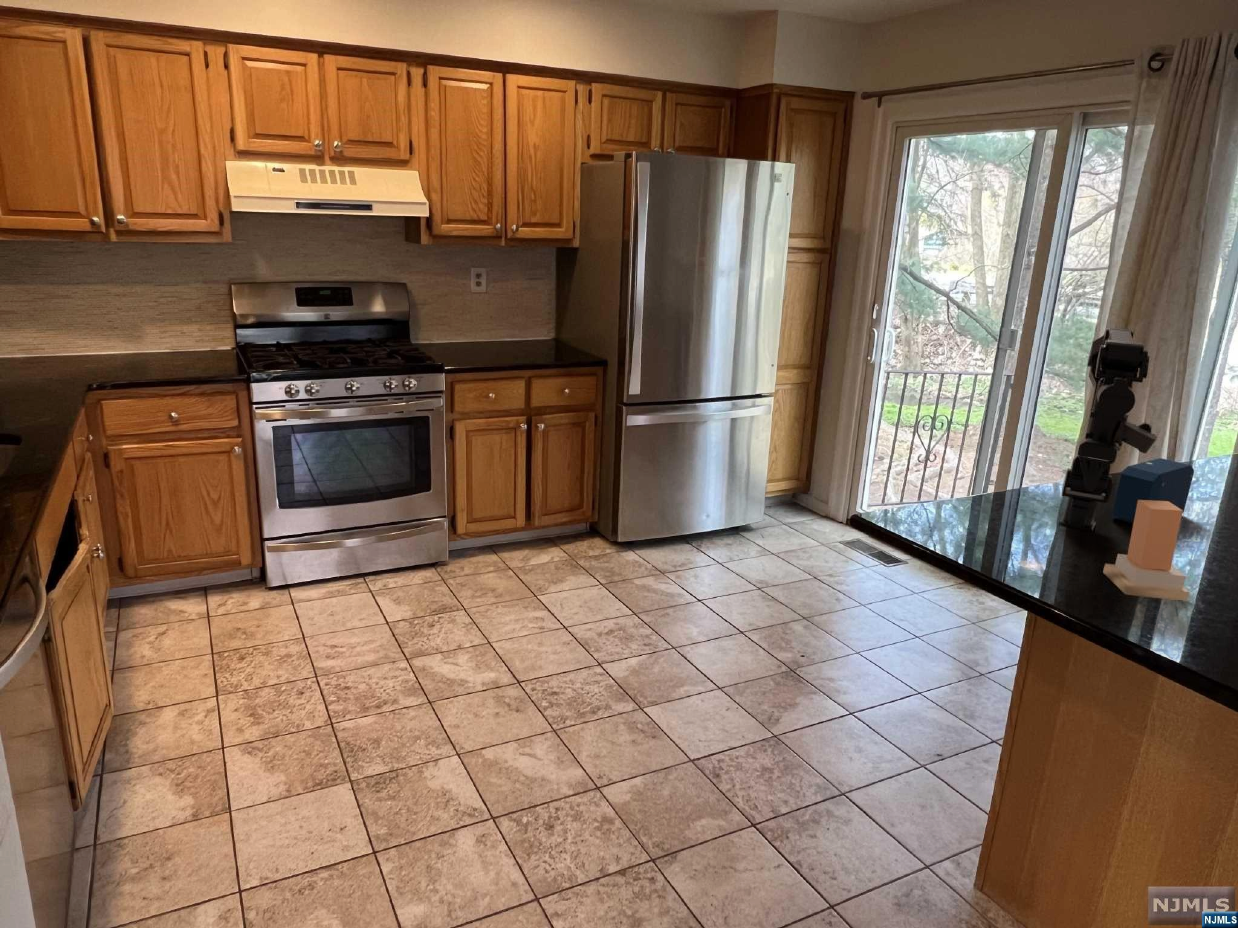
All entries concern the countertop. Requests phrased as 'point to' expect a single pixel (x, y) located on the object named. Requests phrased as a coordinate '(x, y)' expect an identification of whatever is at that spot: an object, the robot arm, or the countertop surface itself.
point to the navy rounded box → (1152, 485)
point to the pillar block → (1154, 534)
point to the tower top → (1150, 574)
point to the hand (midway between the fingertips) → (1092, 485)
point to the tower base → (1142, 586)
